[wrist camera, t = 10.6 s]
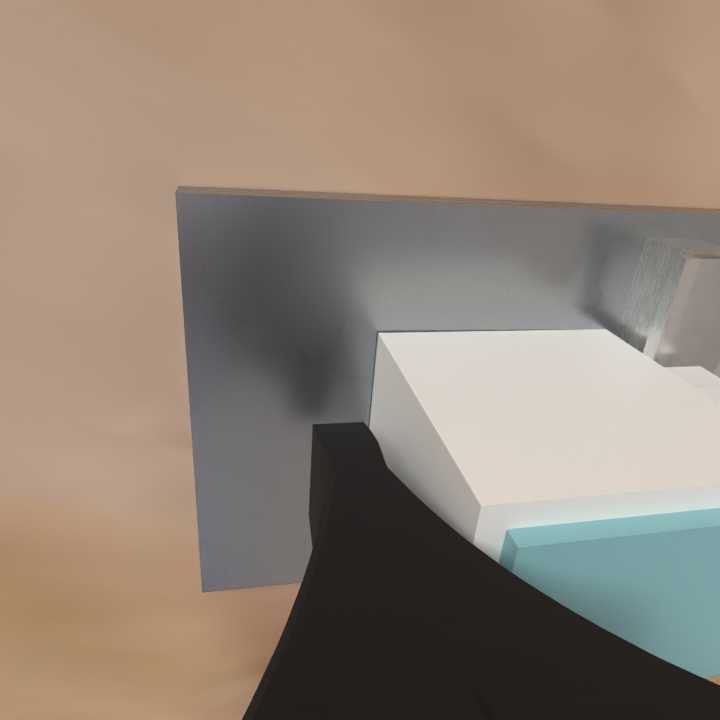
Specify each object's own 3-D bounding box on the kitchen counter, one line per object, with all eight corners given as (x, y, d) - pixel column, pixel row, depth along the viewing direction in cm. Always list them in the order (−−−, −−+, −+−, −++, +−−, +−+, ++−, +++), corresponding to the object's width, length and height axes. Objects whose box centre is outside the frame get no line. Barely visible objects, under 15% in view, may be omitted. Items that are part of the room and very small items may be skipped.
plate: (639, 530, 16) (652, 545, 15) (203, 572, 13) (202, 592, 13) (760, 211, 12) (784, 216, 12) (178, 186, 10) (176, 192, 9)
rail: (606, 537, 15) (642, 581, 14) (544, 543, 15) (576, 589, 13) (710, 239, 11) (772, 260, 10) (632, 236, 11) (686, 258, 10)
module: (591, 477, 14) (775, 679, 9) (362, 496, 13) (441, 741, 8) (638, 328, 12) (894, 484, 7) (378, 333, 11) (491, 524, 6)
